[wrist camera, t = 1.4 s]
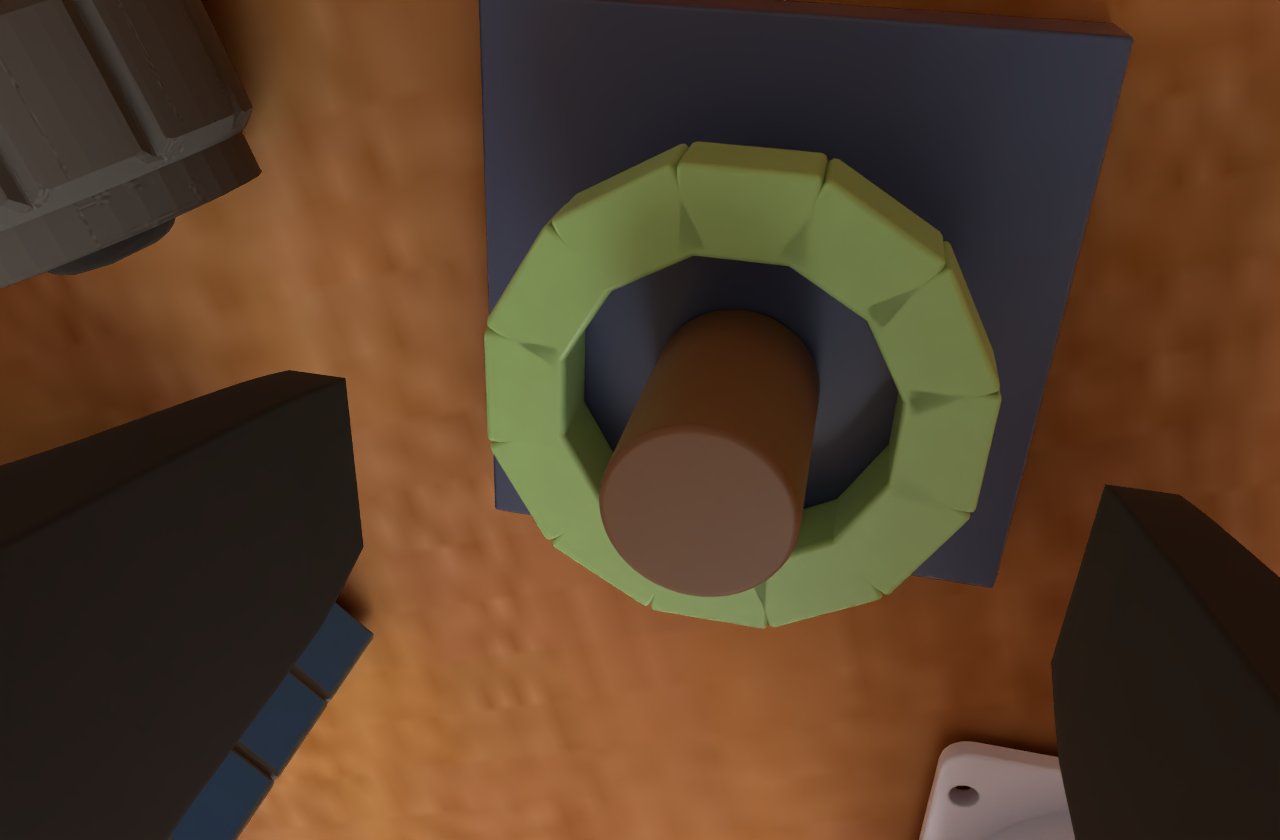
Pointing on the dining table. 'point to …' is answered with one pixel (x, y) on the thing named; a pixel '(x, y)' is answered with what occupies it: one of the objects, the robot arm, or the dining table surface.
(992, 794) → the robot arm
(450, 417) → the dining table surface
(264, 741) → the puzzle toy
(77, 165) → the flashlight
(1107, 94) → the ring post
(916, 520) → the ring toss ring
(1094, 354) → the dining table surface
